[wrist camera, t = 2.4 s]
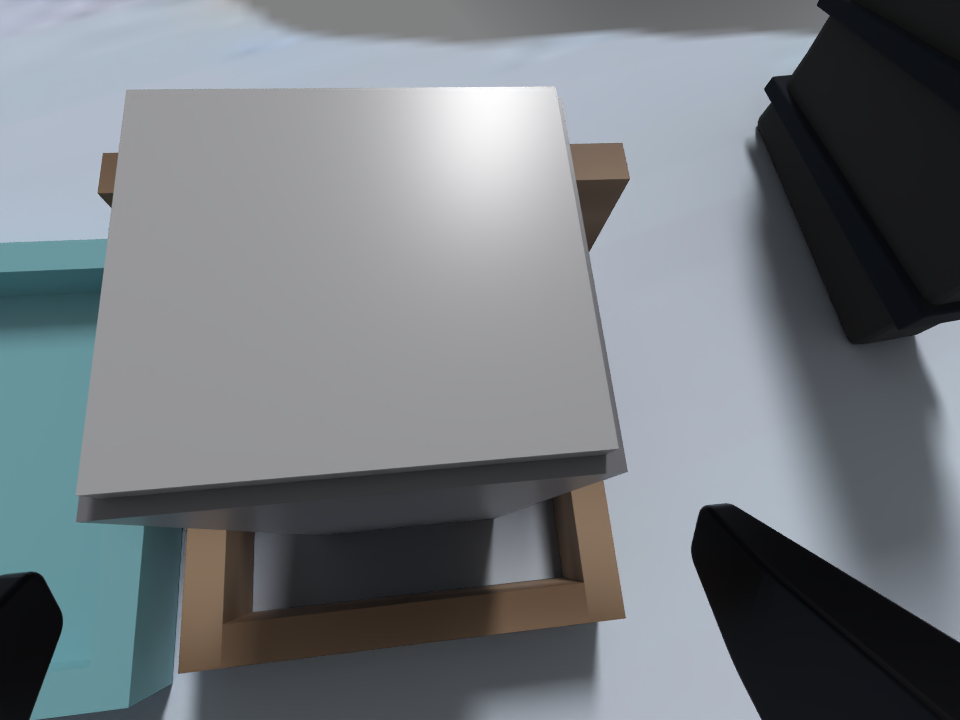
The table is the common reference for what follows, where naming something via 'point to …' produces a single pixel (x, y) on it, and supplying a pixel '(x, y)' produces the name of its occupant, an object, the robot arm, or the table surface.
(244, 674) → the table surface
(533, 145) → the grey lidded box
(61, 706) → the teal tray
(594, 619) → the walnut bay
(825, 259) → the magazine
